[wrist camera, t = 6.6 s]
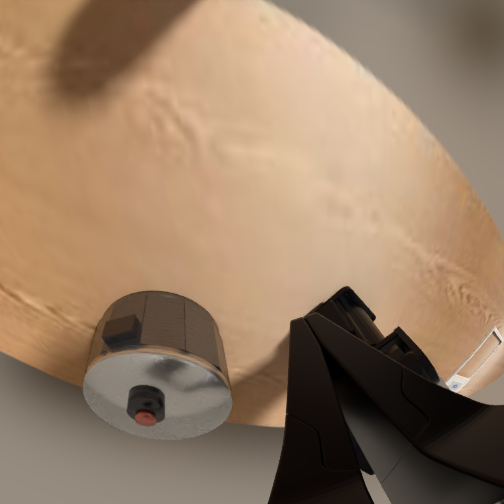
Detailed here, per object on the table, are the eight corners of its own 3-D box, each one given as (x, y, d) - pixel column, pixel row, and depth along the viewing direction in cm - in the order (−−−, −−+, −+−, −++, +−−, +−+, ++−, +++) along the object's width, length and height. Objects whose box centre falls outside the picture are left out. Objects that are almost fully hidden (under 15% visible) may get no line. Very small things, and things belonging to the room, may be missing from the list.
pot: (244, 334, 26) (258, 386, 21) (172, 390, 28) (174, 437, 23) (139, 262, 21) (126, 313, 15) (77, 339, 23) (62, 388, 18)
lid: (57, 359, 16) (45, 393, 13) (200, 326, 17) (204, 366, 14) (131, 436, 21) (130, 464, 19) (246, 416, 22) (253, 447, 19)
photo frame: (435, 393, 45) (495, 327, 39) (433, 390, 46) (492, 324, 40) (454, 395, 51) (504, 340, 45) (452, 392, 52) (501, 338, 46)
